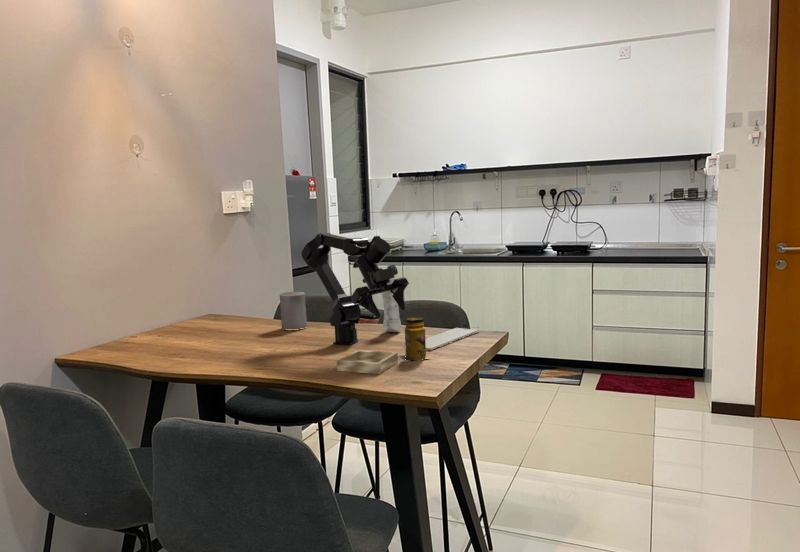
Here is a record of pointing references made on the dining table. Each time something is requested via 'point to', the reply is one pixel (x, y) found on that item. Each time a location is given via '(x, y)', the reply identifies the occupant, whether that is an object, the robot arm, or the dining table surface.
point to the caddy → (367, 361)
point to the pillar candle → (293, 310)
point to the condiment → (414, 340)
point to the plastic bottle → (390, 312)
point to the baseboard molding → (448, 337)
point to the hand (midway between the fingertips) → (391, 313)
